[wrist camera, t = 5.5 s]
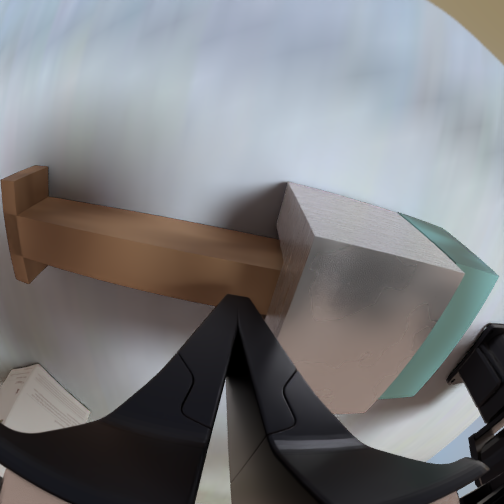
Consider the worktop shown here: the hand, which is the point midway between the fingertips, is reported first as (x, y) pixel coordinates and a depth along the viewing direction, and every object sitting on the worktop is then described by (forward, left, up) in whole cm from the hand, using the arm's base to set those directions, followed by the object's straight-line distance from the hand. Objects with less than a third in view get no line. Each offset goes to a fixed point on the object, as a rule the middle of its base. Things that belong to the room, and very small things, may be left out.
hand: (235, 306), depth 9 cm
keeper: (-4, 0, -4) cm, 5 cm away
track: (+1, 0, -4) cm, 4 cm away
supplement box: (+16, +19, -4) cm, 25 cm away
